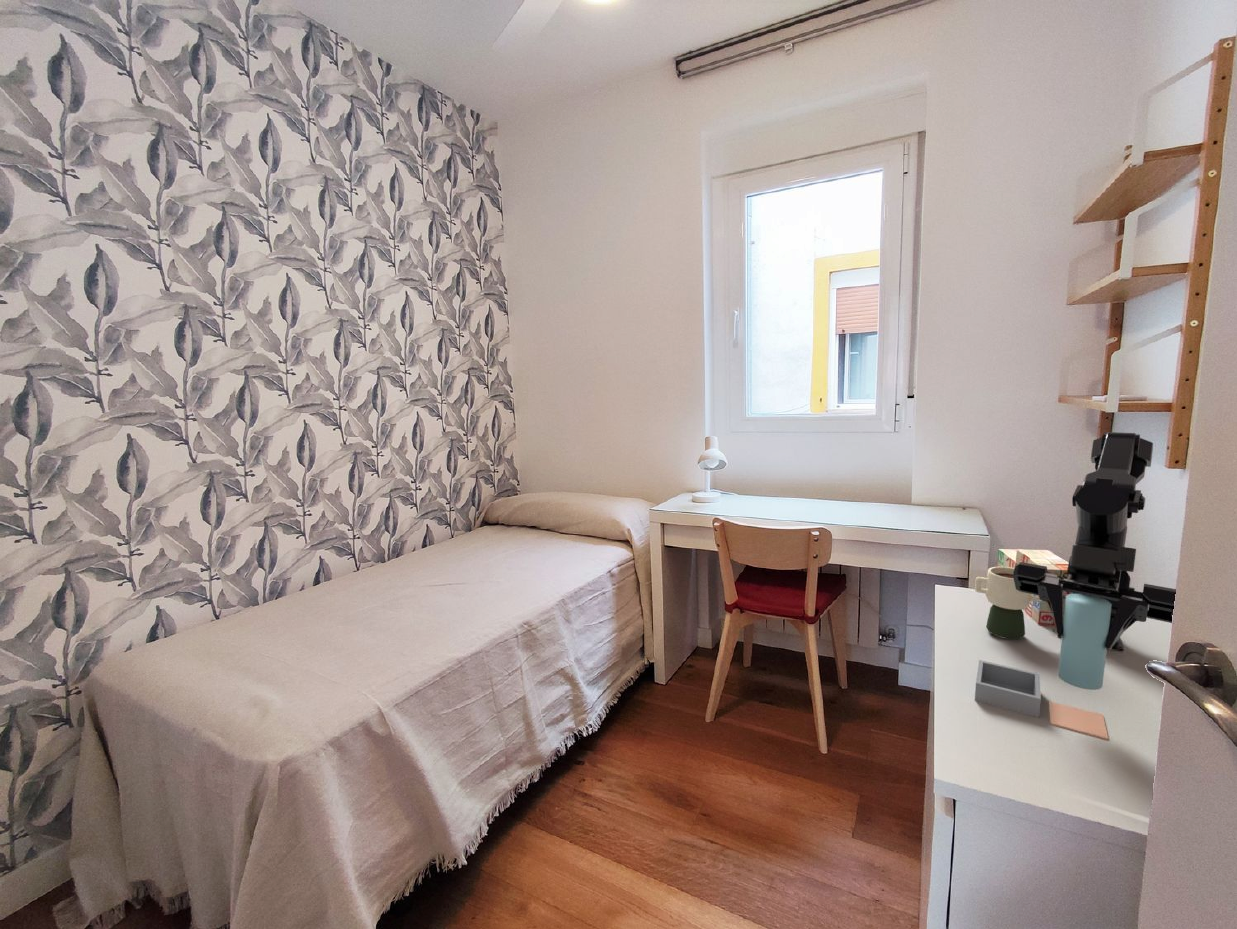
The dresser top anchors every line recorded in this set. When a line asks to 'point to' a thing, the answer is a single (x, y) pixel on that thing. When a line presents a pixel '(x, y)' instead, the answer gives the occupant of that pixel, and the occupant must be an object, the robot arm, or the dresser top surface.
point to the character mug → (1004, 603)
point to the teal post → (1084, 641)
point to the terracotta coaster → (1077, 720)
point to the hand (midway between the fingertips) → (1083, 642)
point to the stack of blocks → (1054, 566)
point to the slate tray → (1008, 688)
